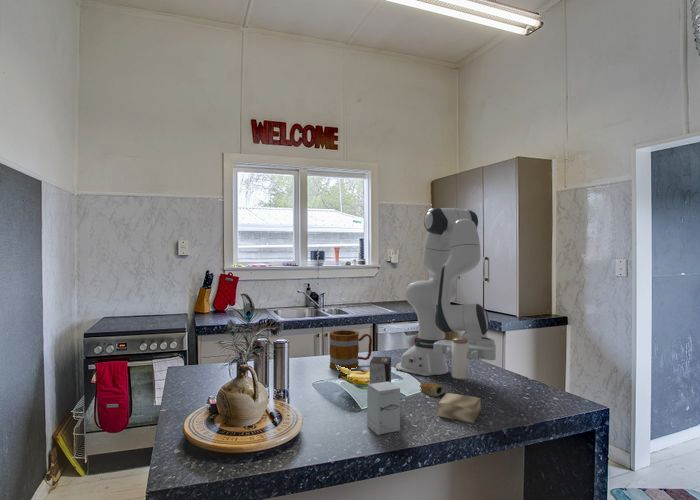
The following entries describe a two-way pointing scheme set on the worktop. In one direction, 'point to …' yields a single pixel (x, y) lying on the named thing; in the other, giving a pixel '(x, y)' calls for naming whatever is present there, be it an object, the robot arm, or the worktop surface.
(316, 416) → the worktop surface
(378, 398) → the supplement box
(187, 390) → the worktop surface
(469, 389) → the worktop surface
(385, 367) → the coffee box
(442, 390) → the pastry
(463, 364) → the spice jar
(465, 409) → the riser
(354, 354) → the mug
